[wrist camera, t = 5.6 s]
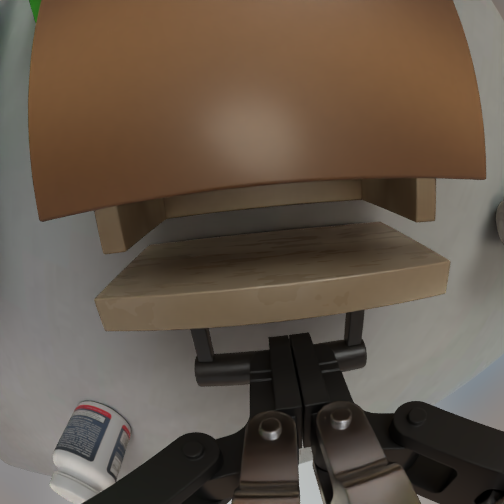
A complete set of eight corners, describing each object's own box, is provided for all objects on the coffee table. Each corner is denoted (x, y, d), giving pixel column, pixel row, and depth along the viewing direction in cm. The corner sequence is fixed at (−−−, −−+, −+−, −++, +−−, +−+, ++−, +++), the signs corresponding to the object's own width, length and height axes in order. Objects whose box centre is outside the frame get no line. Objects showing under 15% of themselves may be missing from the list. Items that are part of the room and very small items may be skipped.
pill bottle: (69, 406, 19) (31, 477, 10) (96, 392, 18) (54, 479, 9) (111, 440, 20) (86, 512, 12) (144, 431, 19) (119, 516, 11)
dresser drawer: (374, 315, 15) (422, 383, 9) (171, 337, 15) (143, 416, 9) (351, -4, 9) (395, -61, 4) (128, 15, 9) (77, -38, 4)
